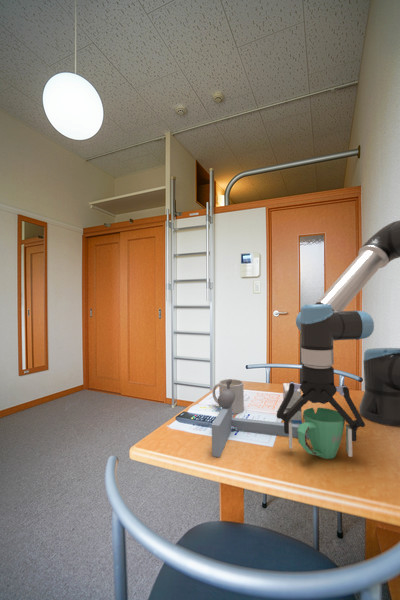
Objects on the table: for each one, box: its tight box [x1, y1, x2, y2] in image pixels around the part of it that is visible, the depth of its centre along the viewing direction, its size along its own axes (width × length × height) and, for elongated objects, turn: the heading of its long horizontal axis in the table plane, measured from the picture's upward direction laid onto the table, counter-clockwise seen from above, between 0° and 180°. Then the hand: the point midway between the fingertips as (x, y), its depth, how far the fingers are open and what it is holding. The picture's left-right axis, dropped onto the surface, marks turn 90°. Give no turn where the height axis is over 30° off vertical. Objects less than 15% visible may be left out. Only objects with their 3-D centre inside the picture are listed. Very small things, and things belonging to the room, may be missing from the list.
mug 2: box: [297, 407, 346, 460], centre depth 69 cm, size 15×10×10 cm
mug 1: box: [211, 378, 245, 415], centre depth 103 cm, size 11×10×10 cm
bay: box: [211, 378, 310, 458], centre depth 76 cm, size 30×20×14 cm, turn 73°
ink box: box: [282, 382, 303, 425], centre depth 89 cm, size 9×5×12 cm, turn 168°
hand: (319, 449), depth 69 cm, fingers open, 13 cm apart
